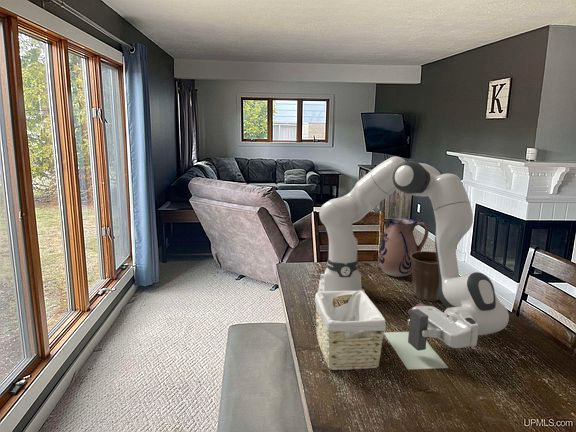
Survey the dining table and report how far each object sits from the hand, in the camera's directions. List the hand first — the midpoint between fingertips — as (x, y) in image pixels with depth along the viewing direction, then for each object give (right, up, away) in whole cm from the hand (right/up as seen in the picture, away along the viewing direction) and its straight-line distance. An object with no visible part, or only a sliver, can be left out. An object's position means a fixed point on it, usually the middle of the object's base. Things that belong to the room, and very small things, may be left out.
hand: (415, 328), depth 122 cm
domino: (+1, -5, +1) cm, 6 cm away
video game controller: (+9, -5, +27) cm, 29 cm away
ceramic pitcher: (+16, +5, +76) cm, 78 cm away
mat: (+1, -8, +7) cm, 11 cm away
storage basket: (-19, -9, +6) cm, 21 cm away
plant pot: (+20, 0, +50) cm, 54 cm away
